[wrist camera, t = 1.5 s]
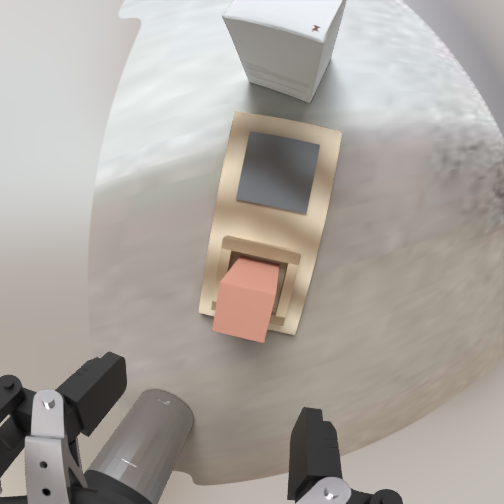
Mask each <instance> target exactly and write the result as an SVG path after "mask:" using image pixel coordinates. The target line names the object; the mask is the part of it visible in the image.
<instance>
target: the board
mask: <svg viewBox="0 0 504 504" xmlns="http://www.w3.org/2000/svg"><path fill="white" fill-rule="evenodd" d="M341 137H342V132H341V131H337V130H333V129H329V128H325V127H321V126H316V125H312V124H308V123H303V122H298V121H293V120H288V119H283V118H277V117H271V116H265V115H259V114H252V113H245V112H237V111H235V113H234V117H233V121H232V126H231V131H230V135H229V140H228V144H227V149H226V154H225V159H224V164H223V169H222V174H221V179H220V184H219V189H218V195H217V200H216V206H215V211H214V217H213V222H212V228H211V234H210V240H209V246H208V252H207V258H206V265H205V271H204V278H203V285H202V292H201V299H200V306H199V313H202V314H206V315H210V316H215V309H216V303H217V297H218V291H219V285H220V281H221V280H222V279H223V278H224V276H225V275H226V274H227V272H228V271H229V270H230V269H231V267H232V266H233V265H234V264H235V262H236V261H237V260H238V258H239V257H240V256H246V257H250V258H255V259H259V260H264V261H268V262H273V263H277V264H279V272H278V281H277V290H276V296H275V300H274V305H273V309H272V313H271V317H270V321H269V325H268V330H273V331H278V332H282V333H287V334H292V335H295V333H296V330H297V327H298V323H299V320H300V317H301V313H302V310H303V306H304V303H305V299H306V295H307V292H308V288H309V284H310V281H311V277H312V273H313V269H314V265H315V261H316V257H317V253H318V249H319V245H320V241H321V237H322V232H323V228H324V224H325V219H326V215H327V210H328V205H329V201H330V196H331V191H332V186H333V181H334V176H335V171H336V165H337V160H338V154H339V149H340V143H341Z"/></svg>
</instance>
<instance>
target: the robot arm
mask: <svg viewBox="0 0 504 504" xmlns="http://www.w3.org/2000/svg"><path fill="white" fill-rule="evenodd" d="M126 386H127V376H126V364H125V359H124V357H121V356H119V355H117V354H114V353H112V352H107V353H106V354H105V355H104V356H103V357H102V358H101V359H100V358H98V357H96V358H94V359H91V360H89V361H87V362H86V363H85V364H84V365H83V366H81V368H80V369H78V370H77V371H76V373H74V374H73V375H72V376H70V377H69V378H68V379H67V380H66V381H65V382H64V383H63V384H61V385H60V386H59V387H58V388H57V389H56V390H55V391H54V390H51V389H45V390H41V391H39V392H34V391H31V390H28V389H26V388H23V387H22V384H21V382H20V380H19V379H18V378H17V377H16V376H13V375H4V376H2V377H0V423H1V422H2V421H3V419H4V418H5V417H6V416H7V415H8V414H9V415H10V417H9V418H8V419H7V420H6V421H5V422H4V424H3V425H2V426H1V427H0V478H1V476H2V475H3V473H4V472H5V471H6V470H7V469H8V467H9V466H10V464H11V463H12V462H13V461H14V460H15V458H16V457H17V456H18V455H19V453H20V452H21V451H22V450H23V448H24V447H25V476H26V489H27V495H26V496H14V497H0V504H158V502H159V499H160V497H161V495H162V492H163V490H164V488H165V486H166V484H167V481H168V479H169V477H170V474H171V472H172V470H173V468H174V466H175V463H176V461H177V459H178V457H179V454H180V452H181V450H182V448H183V445H184V443H185V441H186V439H187V436H188V434H189V432H190V429H191V427H192V425H193V422H194V418H193V414H192V412H191V410H190V409H189V407H188V406H187V405H186V404H185V403H184V402H182V401H181V400H180V399H179V398H177V397H175V396H174V395H172V394H169V393H167V392H164V391H160V390H148V391H145V392H143V393H142V394H141V396H140V397H139V398H138V400H137V401H136V403H135V404H134V405H133V407H132V408H131V409H130V411H129V412H128V413H127V415H126V416H125V417H124V419H123V420H122V422H121V423H120V424H119V426H118V427H117V429H116V430H115V431H114V433H113V434H112V435H111V437H110V438H109V440H108V441H107V442H106V444H105V445H104V447H103V448H102V449H101V451H100V452H99V453H98V455H97V457H96V458H95V459H94V461H93V462H92V463H91V465H90V466H89V468H88V469H87V471H86V472H85V473H84V474H83V471H82V465H81V459H80V453H79V446H78V438H77V436H78V435H79V434H80V432H81V433H83V434H84V435H86V436H88V437H89V436H90V435H91V433H92V432H93V431H94V429H95V428H96V427H97V426H98V424H99V423H100V422H101V421H102V419H103V418H104V417H105V416H106V414H107V413H108V412H109V411H110V409H111V408H112V407H113V406H114V404H115V403H116V402H117V401H118V399H119V398H120V397H121V396H122V394H123V393H124V391H125V389H126ZM337 440H338V439H337V432H336V429H335V428H334V426H333V425H332V423H331V422H329V421H323V417H322V410H321V409H315V408H307V407H304V408H303V409H302V411H301V413H300V415H299V417H298V420H297V422H296V424H295V426H294V428H293V430H292V434H291V439H290V460H289V480H288V496H287V499H288V500H295V504H403V502H402V498H401V496H400V495H399V494H398V493H397V492H395V491H393V490H389V489H383V490H380V491H377V492H376V493H375V494H374V495H373V494H368V493H363V492H359V491H356V490H353V489H351V488H350V486H349V485H348V484H347V482H346V481H344V480H343V478H342V471H341V463H340V454H339V449H338V448H339V447H338V442H337ZM1 493H2V488H1V481H0V494H1Z"/></svg>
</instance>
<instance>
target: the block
mask: <svg viewBox="0 0 504 504" xmlns="http://www.w3.org/2000/svg"><path fill="white" fill-rule="evenodd" d="M278 272H279V264H277V263H273V262H268V261H264V260H259V259H255V258H250V257H246V256H240V257H239V258H238V260H237V261H236V262H235V264H234V265H233V266H232V267H231V269H230V270H229V271H228V272H227V274H226V275H225V276H224V278H223V279H222V280H221V281H220V285H219V291H218V297H217V303H216V309H215V316H214V322H213V328H212V331H216V332H220V333H224V334H228V335H232V336H236V337H240V338H244V339H249V340H253V341H257V342H262V343H264V340H265V336H266V333H267V329H268V325H269V321H270V317H271V313H272V309H273V305H274V300H275V296H276V290H277V281H278Z"/></svg>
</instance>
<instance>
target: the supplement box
mask: <svg viewBox="0 0 504 504" xmlns="http://www.w3.org/2000/svg"><path fill="white" fill-rule="evenodd" d="M345 4H346V0H233V2H232V3H231V4H230V6H229V7H228V8H227V10H226V11H225V12H224V14H223V15H222V18H223V20H224V22H225V24H226V26H227V28H228V31H229V33H230V35H231V38H232V40H233V43H234V45H235V48H236V50H237V53H238V55H239V58H240V60H241V63H242V65H243V68H244V70H245V73H246V75H247V78H248V80H249V82H252V83H255V84H258V85H261V86H264V87H267V88H270V89H273V90H276V91H279V92H281V93H284V94H287V95H290V96H292V97H295V98H297V99H300V100H303V101H305V102H307V103H310V102H311V100H312V98H313V96H314V94H315V92H316V90H317V87H318V85H319V83H320V81H321V79H322V77H323V75H324V73H325V70H326V68H327V66H328V63H329V61H330V59H331V57H332V52H333V49H334V45H335V41H336V38H337V34H338V30H339V27H340V23H341V20H342V16H343V12H344V8H345Z"/></svg>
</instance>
